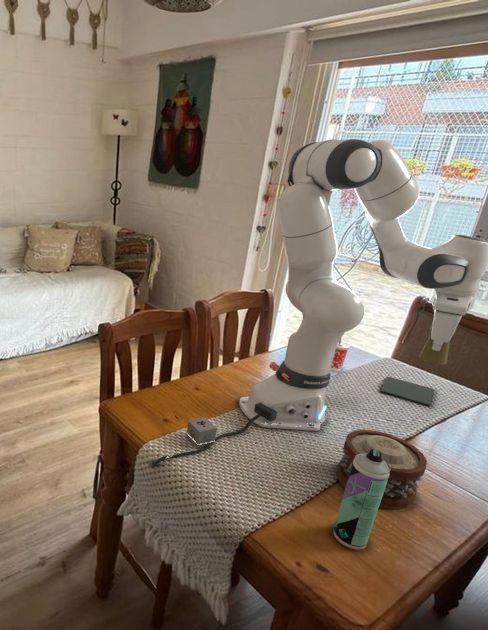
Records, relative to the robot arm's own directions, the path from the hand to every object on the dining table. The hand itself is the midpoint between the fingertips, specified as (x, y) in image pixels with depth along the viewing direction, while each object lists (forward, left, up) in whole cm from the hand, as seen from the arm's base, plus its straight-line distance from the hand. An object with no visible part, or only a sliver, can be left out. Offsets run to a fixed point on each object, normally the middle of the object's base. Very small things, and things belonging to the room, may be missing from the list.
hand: (436, 346), depth 119 cm
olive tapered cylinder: (0, 0, -4) cm, 4 cm away
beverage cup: (-9, +24, -20) cm, 33 cm away
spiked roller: (-35, -29, -20) cm, 49 cm away
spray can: (-50, -42, -20) cm, 68 cm away
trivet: (+4, +8, -19) cm, 22 cm away
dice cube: (-68, -11, -20) cm, 71 cm away
